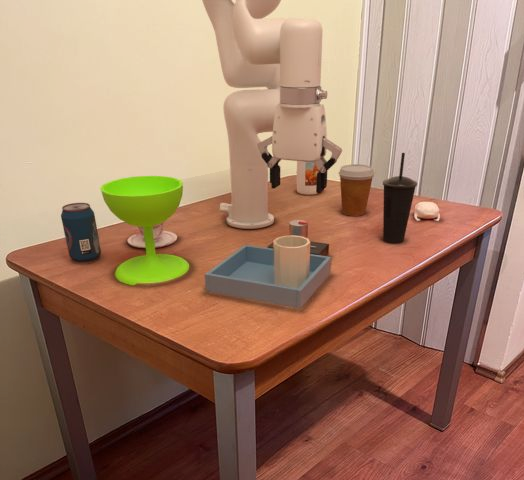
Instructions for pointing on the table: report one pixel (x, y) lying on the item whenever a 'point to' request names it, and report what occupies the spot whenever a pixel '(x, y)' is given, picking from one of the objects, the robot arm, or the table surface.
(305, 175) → the milk bottle
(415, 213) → the frog figurine
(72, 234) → the soda can
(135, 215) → the wineglass
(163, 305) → the table surface
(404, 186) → the drinking cup
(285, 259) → the cup
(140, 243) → the teacup
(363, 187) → the disposable coffee cup
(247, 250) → the tray
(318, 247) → the black dial panel
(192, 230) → the table surface
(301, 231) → the control knob
